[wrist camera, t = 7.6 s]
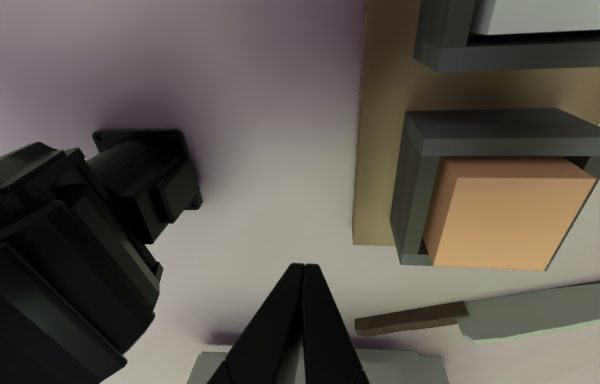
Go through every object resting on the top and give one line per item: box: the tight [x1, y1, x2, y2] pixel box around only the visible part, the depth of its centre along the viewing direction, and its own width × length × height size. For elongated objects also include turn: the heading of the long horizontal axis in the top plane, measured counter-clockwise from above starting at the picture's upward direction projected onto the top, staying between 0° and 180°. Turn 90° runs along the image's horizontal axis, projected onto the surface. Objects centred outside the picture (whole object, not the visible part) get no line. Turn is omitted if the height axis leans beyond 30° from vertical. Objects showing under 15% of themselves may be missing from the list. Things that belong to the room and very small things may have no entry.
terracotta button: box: [422, 156, 596, 271], centre depth 14 cm, size 5×5×4 cm
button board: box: [352, 0, 600, 271], centre depth 13 cm, size 12×22×6 cm, turn 3°
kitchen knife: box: [355, 283, 600, 344], centre depth 23 cm, size 4×1×30 cm
